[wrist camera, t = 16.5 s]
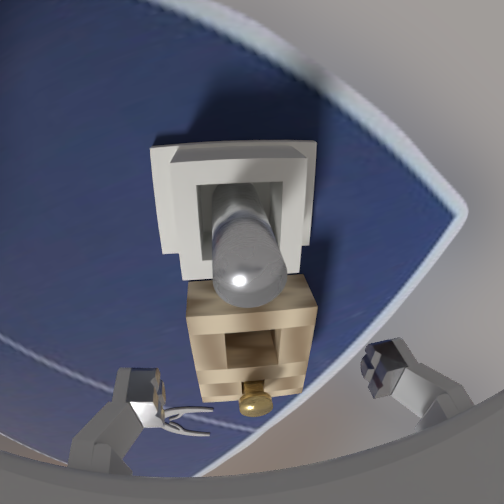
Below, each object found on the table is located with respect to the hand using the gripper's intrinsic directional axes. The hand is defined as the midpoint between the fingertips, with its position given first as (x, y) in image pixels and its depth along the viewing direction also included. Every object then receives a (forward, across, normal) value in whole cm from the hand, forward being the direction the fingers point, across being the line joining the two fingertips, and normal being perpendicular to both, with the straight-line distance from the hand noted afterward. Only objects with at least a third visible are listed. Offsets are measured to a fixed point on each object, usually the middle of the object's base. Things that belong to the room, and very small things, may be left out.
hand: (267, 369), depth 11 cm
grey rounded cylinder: (+18, 0, 0) cm, 18 cm away
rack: (+19, 0, 0) cm, 19 cm away
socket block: (+19, -2, +16) cm, 25 cm away
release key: (+19, -2, +20) cm, 28 cm away
